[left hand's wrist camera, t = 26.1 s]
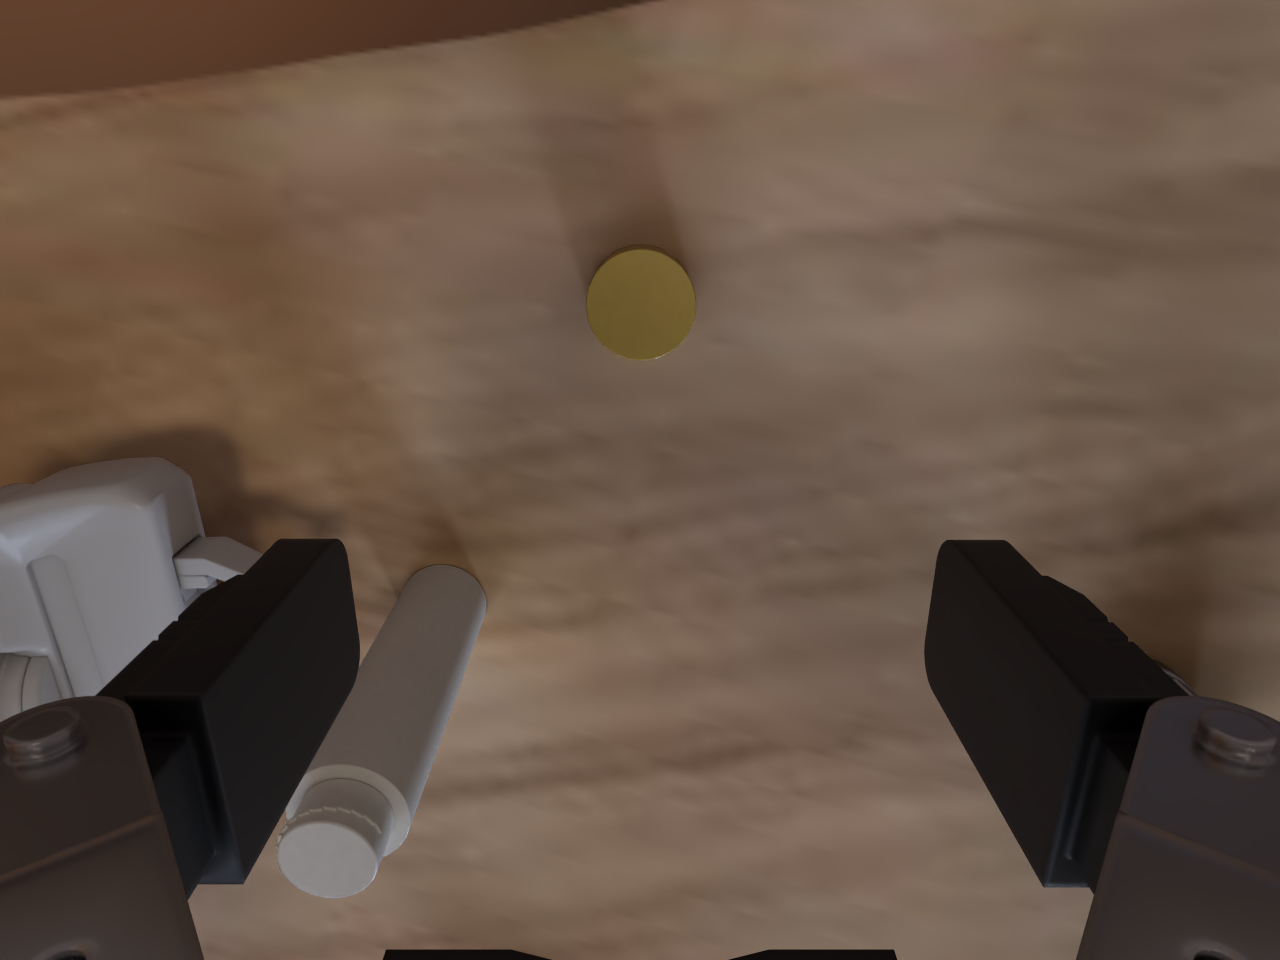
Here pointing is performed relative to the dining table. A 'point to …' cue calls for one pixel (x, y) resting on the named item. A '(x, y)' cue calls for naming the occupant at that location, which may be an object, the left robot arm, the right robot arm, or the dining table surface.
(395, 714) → the white tall cylinder
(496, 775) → the dining table surface
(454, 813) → the dining table surface
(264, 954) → the dining table surface
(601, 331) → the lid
